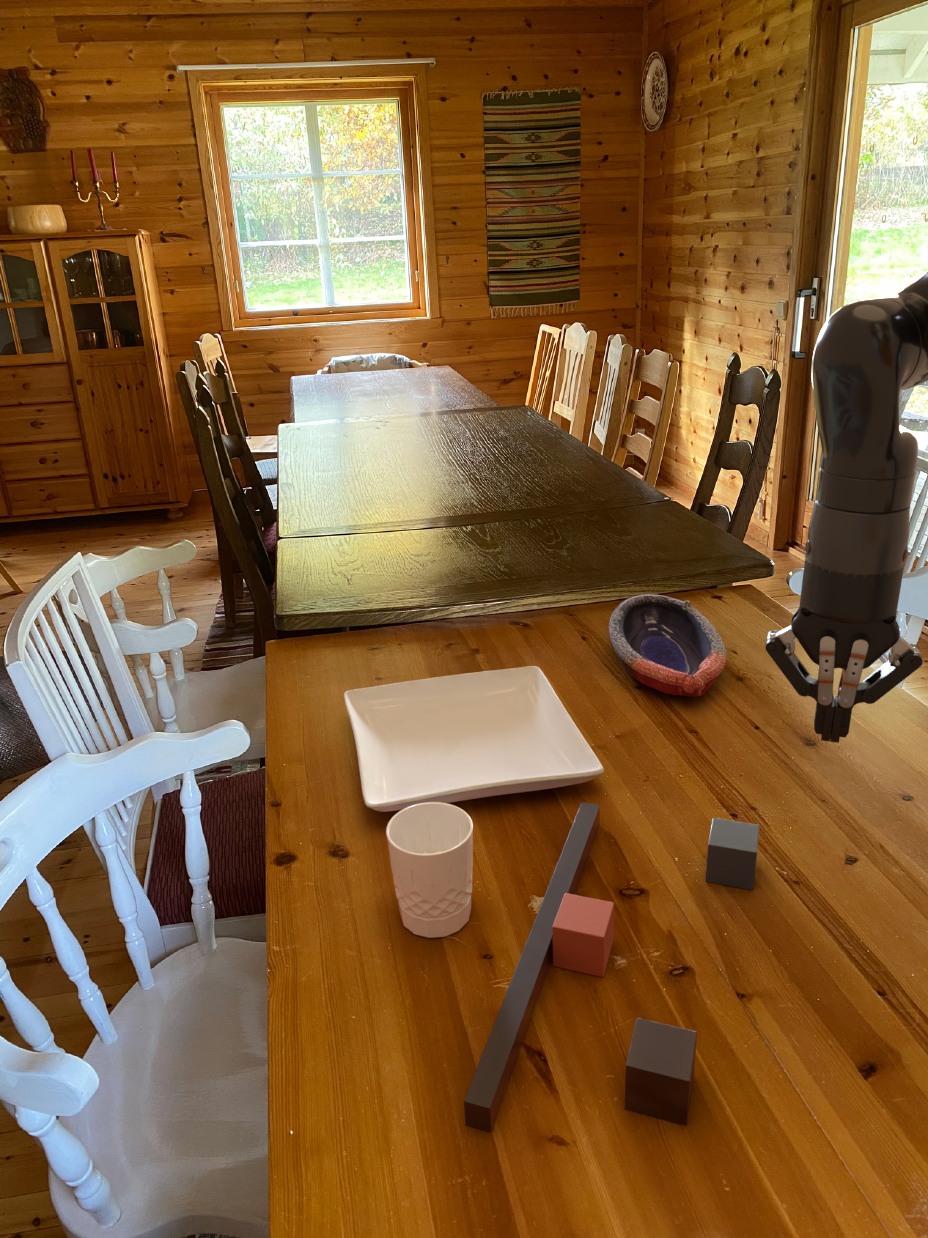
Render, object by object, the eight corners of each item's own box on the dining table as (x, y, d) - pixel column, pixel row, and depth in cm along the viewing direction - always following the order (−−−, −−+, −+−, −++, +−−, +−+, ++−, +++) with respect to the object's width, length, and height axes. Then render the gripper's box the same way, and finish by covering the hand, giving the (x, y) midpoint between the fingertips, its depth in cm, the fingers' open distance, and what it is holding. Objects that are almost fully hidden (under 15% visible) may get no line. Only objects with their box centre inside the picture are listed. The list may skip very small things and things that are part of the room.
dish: (695, 616, 147) (697, 587, 145) (744, 711, 119) (748, 677, 117) (598, 619, 148) (599, 590, 146) (625, 714, 120) (626, 680, 118)
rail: (599, 824, 99) (599, 804, 98) (491, 1132, 66) (490, 1108, 65) (581, 821, 99) (581, 801, 98) (465, 1125, 67) (463, 1101, 66)
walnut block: (693, 1074, 70) (697, 1031, 68) (686, 1126, 66) (689, 1081, 64) (634, 1060, 71) (636, 1017, 69) (624, 1109, 67) (625, 1065, 66)
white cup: (428, 875, 92) (421, 792, 88) (493, 904, 88) (489, 818, 84) (377, 922, 86) (368, 836, 82) (444, 956, 82) (438, 866, 78)
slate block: (755, 861, 92) (759, 824, 90) (753, 890, 88) (757, 852, 86) (709, 853, 93) (712, 817, 92) (705, 882, 89) (708, 844, 88)
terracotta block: (613, 941, 83) (614, 902, 81) (603, 978, 79) (604, 937, 77) (564, 931, 84) (564, 892, 82) (552, 966, 80) (552, 926, 79)
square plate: (368, 834, 99) (364, 805, 97) (345, 713, 123) (342, 687, 122) (606, 795, 103) (607, 766, 102) (538, 685, 128) (538, 660, 126)
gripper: (939, 545, 76) (907, 726, 83) (771, 534, 80) (754, 707, 87) (950, 577, 69) (914, 771, 76) (767, 563, 73) (749, 748, 80)
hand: (829, 737), depth 82 cm, fingers closed
